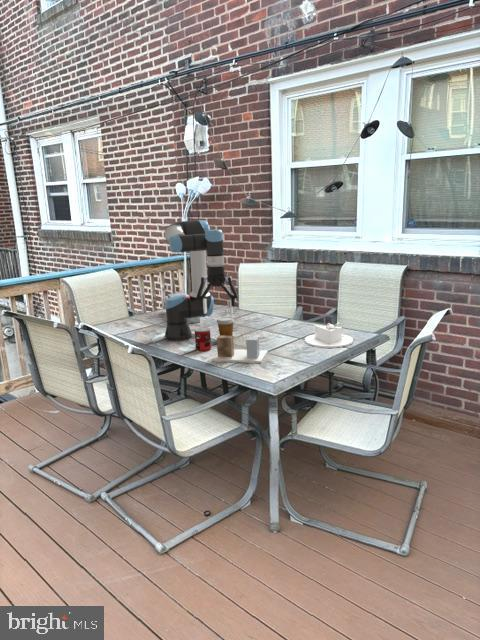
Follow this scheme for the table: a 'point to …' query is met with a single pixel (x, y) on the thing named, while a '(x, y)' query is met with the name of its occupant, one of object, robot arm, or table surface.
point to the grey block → (252, 347)
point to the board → (242, 357)
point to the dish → (328, 337)
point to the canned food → (202, 339)
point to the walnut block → (225, 346)
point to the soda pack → (190, 320)
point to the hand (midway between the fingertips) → (218, 313)
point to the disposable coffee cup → (225, 326)
